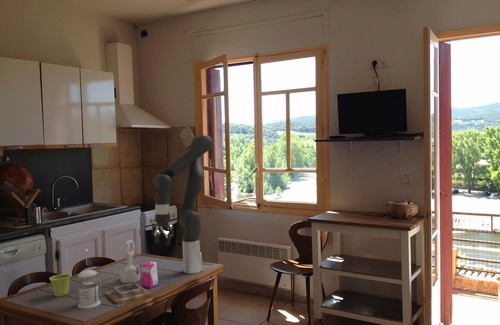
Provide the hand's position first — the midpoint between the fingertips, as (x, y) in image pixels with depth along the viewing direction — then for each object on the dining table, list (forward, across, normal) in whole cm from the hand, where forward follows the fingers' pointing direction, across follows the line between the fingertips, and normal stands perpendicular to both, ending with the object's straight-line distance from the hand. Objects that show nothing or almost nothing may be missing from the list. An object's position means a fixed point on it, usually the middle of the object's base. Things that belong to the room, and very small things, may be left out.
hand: (162, 243), depth 222 cm
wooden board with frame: (+20, -4, +24) cm, 32 cm away
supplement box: (+19, -2, +10) cm, 22 cm away
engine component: (+19, +15, +9) cm, 26 cm away
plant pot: (+21, +25, +41) cm, 53 cm away
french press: (+21, +1, +40) cm, 46 cm away
